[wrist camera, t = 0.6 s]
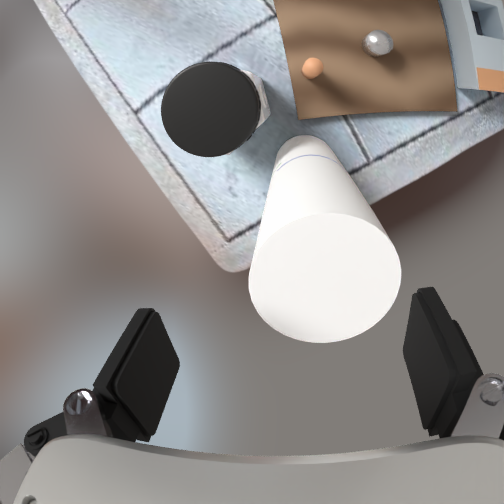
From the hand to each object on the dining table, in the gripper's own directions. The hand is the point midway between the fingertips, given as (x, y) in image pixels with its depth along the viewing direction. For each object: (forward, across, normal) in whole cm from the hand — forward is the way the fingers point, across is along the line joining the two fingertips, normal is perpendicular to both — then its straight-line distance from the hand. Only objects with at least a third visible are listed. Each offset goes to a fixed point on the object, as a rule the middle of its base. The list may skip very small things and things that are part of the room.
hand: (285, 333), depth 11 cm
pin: (+29, -4, -10) cm, 31 cm away
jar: (+29, +6, -8) cm, 30 cm away
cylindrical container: (+29, -2, +1) cm, 29 cm away
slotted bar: (+29, -26, -17) cm, 42 cm away
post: (+29, -11, -13) cm, 33 cm away
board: (+29, -11, -13) cm, 33 cm away
